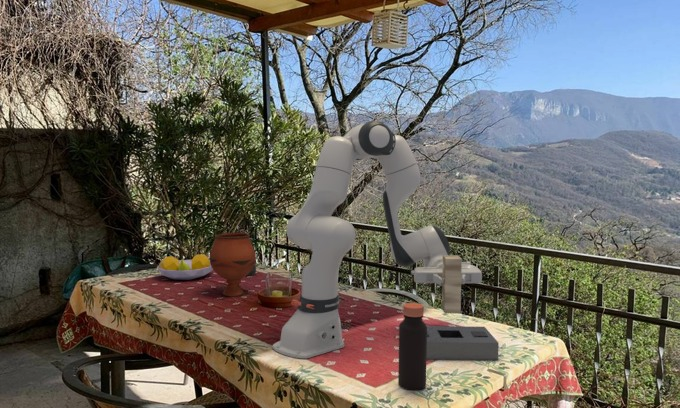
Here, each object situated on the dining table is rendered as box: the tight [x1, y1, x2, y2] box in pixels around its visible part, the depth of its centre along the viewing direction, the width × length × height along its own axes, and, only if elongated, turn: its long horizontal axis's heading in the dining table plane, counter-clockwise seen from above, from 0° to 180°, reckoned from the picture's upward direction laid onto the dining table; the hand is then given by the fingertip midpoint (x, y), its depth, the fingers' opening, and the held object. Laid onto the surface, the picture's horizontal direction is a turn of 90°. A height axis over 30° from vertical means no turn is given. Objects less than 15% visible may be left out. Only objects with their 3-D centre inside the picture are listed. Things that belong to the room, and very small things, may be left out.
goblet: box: [209, 232, 257, 297], centre depth 210 cm, size 19×19×25 cm
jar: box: [245, 261, 257, 278], centre depth 246 cm, size 10×10×8 cm
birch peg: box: [441, 255, 463, 314], centre depth 146 cm, size 4×4×16 cm
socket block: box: [426, 325, 499, 361], centre depth 147 cm, size 14×24×5 cm, turn 90°
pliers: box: [338, 291, 348, 303], centre depth 209 cm, size 10×1×20 cm
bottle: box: [397, 302, 428, 391], centre depth 123 cm, size 7×7×20 cm
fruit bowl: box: [156, 253, 214, 281], centre depth 239 cm, size 28×27×11 cm
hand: (452, 281), depth 145 cm, fingers closed on birch peg, 4 cm apart
